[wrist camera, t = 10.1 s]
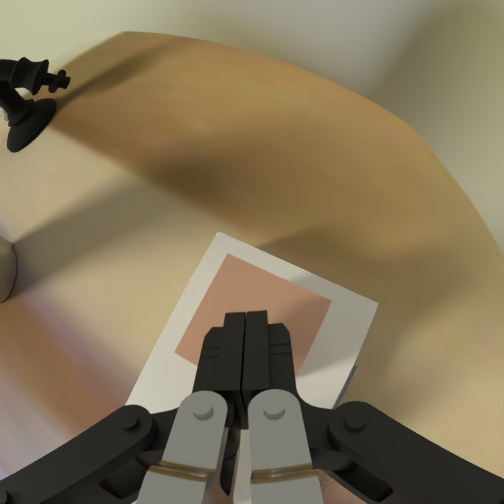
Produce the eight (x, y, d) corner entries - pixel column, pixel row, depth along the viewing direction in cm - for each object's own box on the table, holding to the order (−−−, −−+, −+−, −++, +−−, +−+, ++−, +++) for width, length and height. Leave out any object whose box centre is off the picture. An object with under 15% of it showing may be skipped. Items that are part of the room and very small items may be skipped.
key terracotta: (277, 381, 20) (279, 407, 10) (219, 352, 21) (173, 352, 11) (307, 323, 21) (331, 300, 12) (248, 296, 22) (227, 252, 13)
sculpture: (24, 114, 46) (-23, 53, 23) (94, 79, 45) (49, -4, 22) (1, 160, 41) (-59, 97, 18) (72, 126, 40) (6, 30, 16)
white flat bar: (200, 570, 15) (188, 596, 10) (97, 512, 18) (72, 528, 13) (364, 317, 25) (387, 307, 20) (229, 255, 29) (218, 231, 23)
